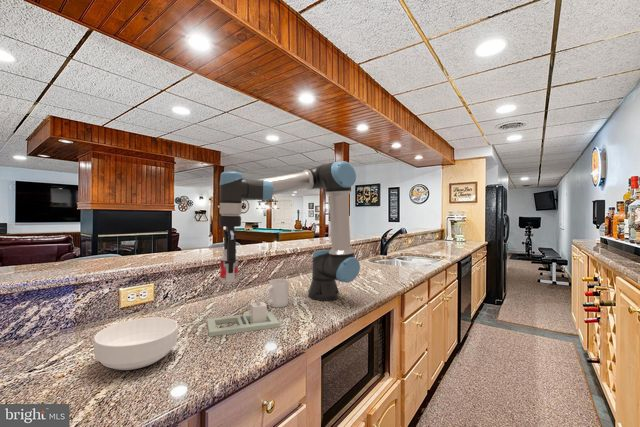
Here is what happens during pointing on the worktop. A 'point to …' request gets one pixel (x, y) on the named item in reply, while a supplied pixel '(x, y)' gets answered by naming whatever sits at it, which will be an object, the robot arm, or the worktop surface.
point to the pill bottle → (223, 267)
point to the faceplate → (242, 323)
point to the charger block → (258, 312)
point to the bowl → (135, 342)
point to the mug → (278, 292)
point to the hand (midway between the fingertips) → (228, 279)
